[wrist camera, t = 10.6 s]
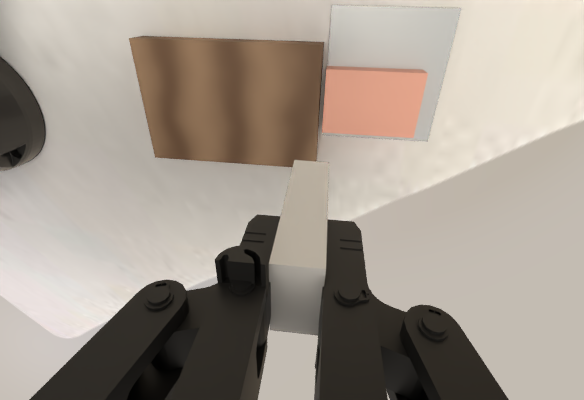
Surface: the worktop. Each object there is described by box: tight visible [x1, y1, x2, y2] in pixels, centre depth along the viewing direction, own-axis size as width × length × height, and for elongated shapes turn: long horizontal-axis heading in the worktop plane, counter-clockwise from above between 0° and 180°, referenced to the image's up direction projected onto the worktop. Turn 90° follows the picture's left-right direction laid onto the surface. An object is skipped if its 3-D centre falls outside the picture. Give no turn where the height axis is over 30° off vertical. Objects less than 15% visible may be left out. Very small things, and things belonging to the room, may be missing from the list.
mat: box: [323, 5, 461, 142], centre depth 31 cm, size 11×12×1 cm
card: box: [322, 66, 428, 138], centre depth 31 cm, size 9×6×2 cm, turn 89°
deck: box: [129, 36, 324, 167], centre depth 33 cm, size 18×12×2 cm, turn 89°
